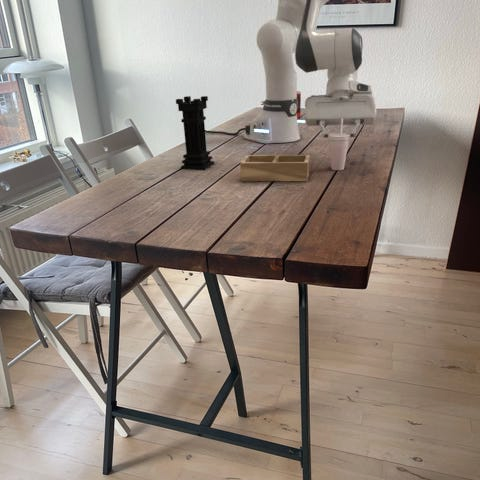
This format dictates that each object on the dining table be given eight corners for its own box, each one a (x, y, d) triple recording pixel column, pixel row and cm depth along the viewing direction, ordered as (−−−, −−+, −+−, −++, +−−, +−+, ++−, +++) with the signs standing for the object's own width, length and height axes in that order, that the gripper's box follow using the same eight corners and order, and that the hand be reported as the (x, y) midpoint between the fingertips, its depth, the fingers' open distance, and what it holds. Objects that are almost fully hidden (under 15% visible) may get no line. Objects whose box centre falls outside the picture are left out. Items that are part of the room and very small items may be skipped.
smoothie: (348, 171, 144) (351, 120, 137) (326, 171, 146) (328, 120, 138) (348, 165, 150) (351, 116, 143) (327, 165, 151) (329, 116, 144)
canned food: (281, 117, 234) (281, 91, 228) (298, 116, 234) (299, 90, 229) (284, 119, 227) (284, 93, 222) (301, 118, 228) (302, 92, 222)
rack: (246, 172, 149) (246, 155, 146) (309, 172, 146) (309, 154, 143) (241, 181, 141) (240, 163, 138) (307, 181, 137) (307, 162, 135)
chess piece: (214, 163, 160) (209, 96, 150) (204, 169, 154) (198, 99, 144) (191, 162, 163) (185, 96, 152) (181, 168, 156) (173, 99, 146)
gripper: (305, 88, 145) (302, 130, 141) (377, 85, 141) (376, 128, 138) (305, 103, 151) (303, 143, 147) (375, 100, 147) (374, 142, 144)
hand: (339, 136), depth 142 cm, fingers closed on smoothie, 6 cm apart
